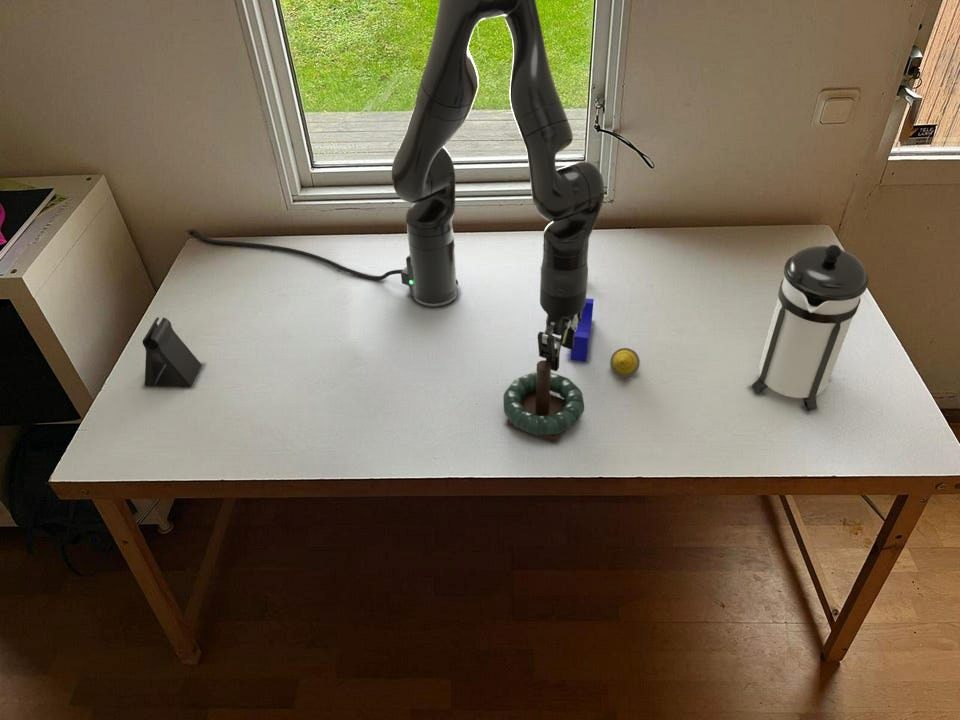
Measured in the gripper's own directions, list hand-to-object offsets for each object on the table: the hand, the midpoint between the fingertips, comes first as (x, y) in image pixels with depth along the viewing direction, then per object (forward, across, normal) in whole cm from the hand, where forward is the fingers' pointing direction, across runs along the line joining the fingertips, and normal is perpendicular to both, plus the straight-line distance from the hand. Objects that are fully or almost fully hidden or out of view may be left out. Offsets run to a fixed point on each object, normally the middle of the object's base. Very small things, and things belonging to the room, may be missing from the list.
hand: (559, 357), depth 136 cm
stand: (+9, +7, 0) cm, 11 cm away
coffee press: (+9, -23, +36) cm, 44 cm away
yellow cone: (+9, -10, +9) cm, 16 cm away
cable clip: (+9, -15, -3) cm, 18 cm away
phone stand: (+9, +30, -67) cm, 74 cm away
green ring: (+6, +6, 0) cm, 8 cm away
